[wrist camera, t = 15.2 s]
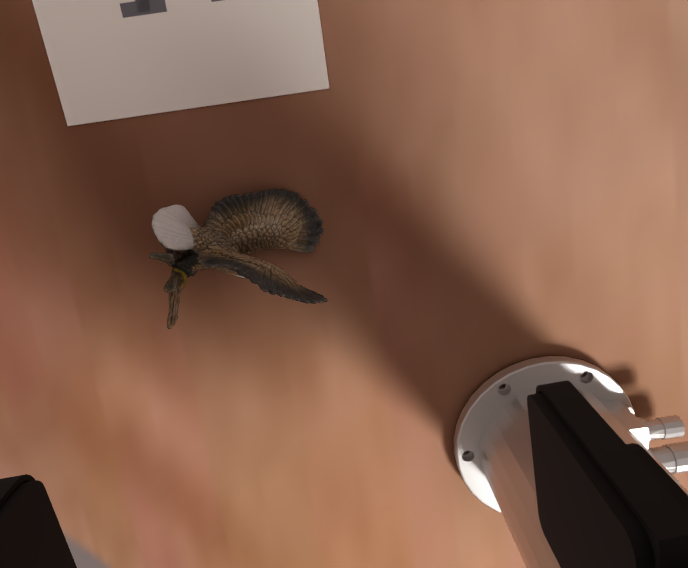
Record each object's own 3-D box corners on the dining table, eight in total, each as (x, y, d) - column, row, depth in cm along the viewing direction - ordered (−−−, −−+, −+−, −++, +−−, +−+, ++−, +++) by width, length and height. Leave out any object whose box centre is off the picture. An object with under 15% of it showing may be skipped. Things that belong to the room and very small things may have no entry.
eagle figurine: (200, 338, 35) (339, 317, 33) (133, 320, 28) (303, 294, 27) (195, 224, 37) (326, 198, 35) (132, 182, 30) (290, 148, 29)
